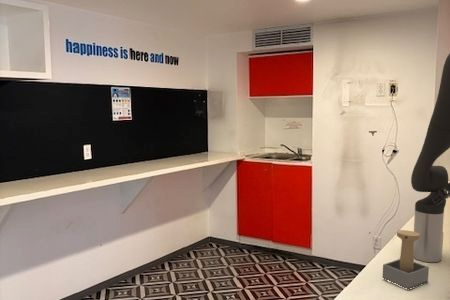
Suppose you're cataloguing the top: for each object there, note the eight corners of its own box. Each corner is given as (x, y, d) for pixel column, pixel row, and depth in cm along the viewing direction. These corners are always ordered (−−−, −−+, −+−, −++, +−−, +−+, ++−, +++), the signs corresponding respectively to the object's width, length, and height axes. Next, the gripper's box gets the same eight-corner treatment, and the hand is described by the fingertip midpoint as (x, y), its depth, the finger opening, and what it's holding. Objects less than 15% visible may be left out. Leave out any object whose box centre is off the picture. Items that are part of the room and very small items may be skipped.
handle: (396, 274, 136) (399, 229, 134) (418, 279, 132) (421, 232, 130) (393, 279, 132) (395, 233, 130) (415, 284, 128) (417, 237, 126)
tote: (402, 272, 139) (402, 257, 138) (427, 282, 131) (428, 267, 130) (382, 279, 133) (383, 264, 133) (408, 290, 126) (409, 274, 125)
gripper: (491, 153, 116) (447, 186, 128) (463, 158, 109) (419, 192, 120) (511, 175, 113) (464, 207, 124) (483, 182, 105) (436, 215, 116)
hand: (442, 200), depth 122 cm, fingers open, 8 cm apart
